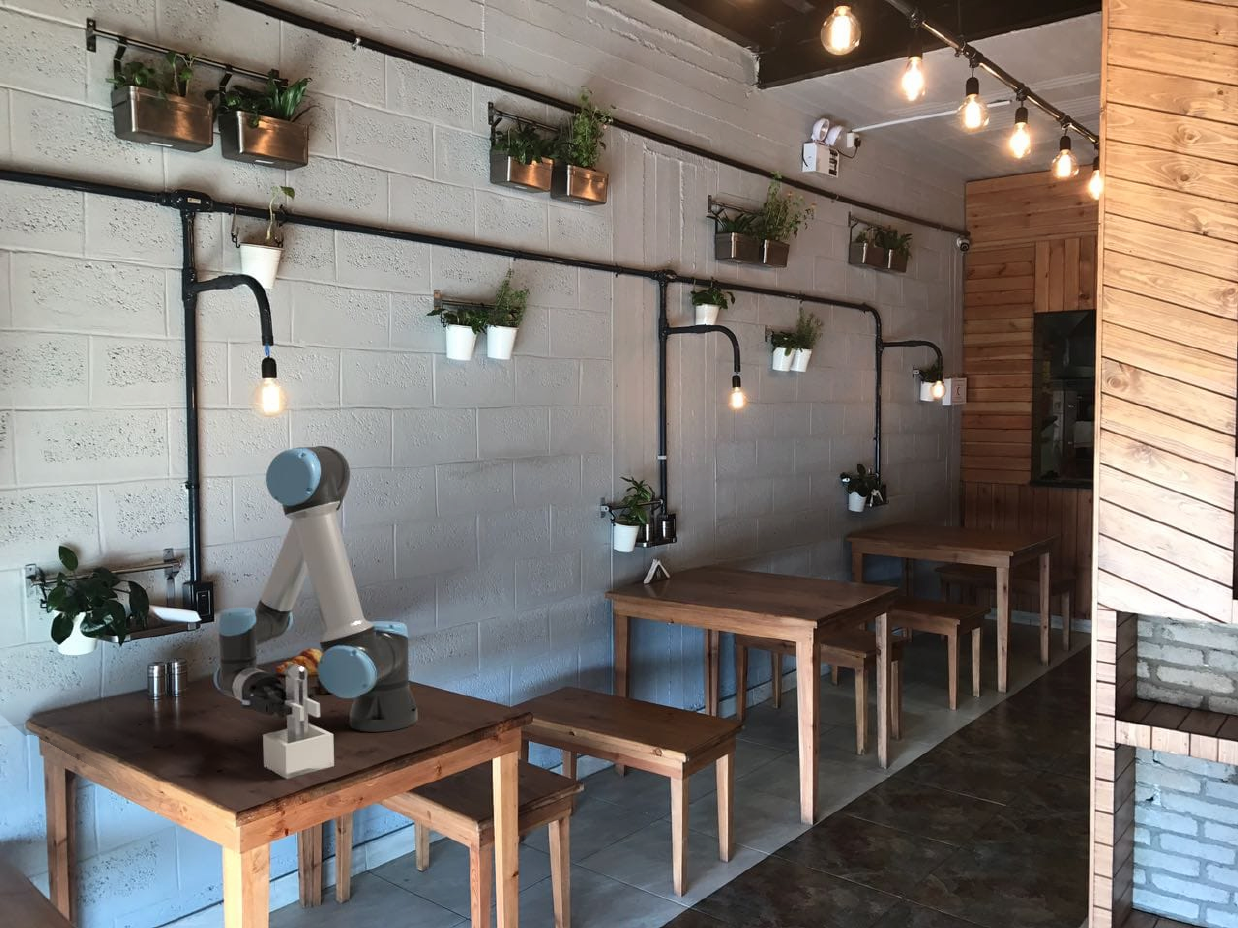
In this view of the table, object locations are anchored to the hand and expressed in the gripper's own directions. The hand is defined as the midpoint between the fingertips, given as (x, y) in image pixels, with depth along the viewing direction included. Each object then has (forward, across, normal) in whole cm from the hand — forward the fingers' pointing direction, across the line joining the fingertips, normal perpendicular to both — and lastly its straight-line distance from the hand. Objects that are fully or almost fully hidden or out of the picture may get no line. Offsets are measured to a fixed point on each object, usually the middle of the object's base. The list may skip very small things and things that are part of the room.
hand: (310, 711), depth 196 cm
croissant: (-71, -37, -13) cm, 81 cm away
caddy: (-5, 0, -12) cm, 13 cm away
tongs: (-5, 0, -10) cm, 11 cm away
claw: (-46, -34, -13) cm, 59 cm away
